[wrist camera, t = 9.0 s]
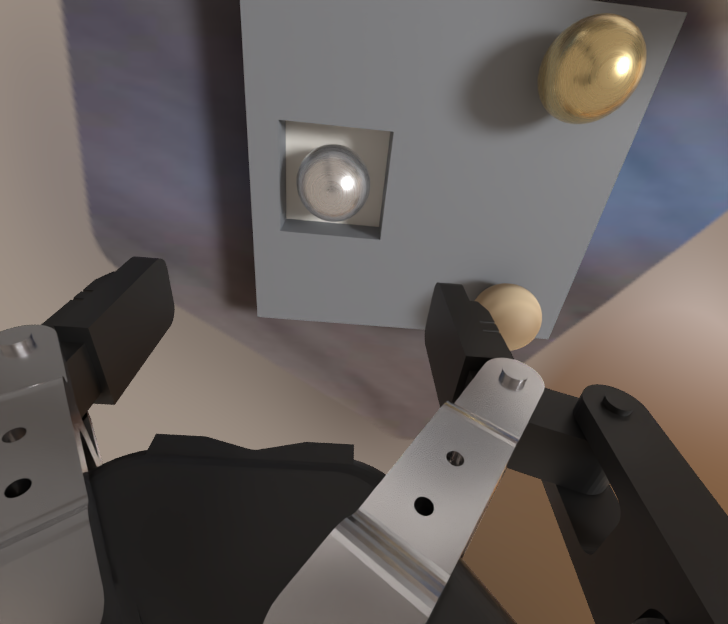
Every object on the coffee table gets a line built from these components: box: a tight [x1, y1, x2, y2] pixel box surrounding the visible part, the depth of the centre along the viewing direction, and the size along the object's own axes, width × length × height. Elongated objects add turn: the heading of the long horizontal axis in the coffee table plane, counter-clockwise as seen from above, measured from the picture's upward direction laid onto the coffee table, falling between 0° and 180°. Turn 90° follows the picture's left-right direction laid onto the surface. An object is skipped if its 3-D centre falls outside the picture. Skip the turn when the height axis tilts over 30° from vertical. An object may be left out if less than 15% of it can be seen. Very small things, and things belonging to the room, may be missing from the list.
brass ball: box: [538, 13, 647, 124], centre depth 19 cm, size 4×4×4 cm
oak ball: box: [475, 283, 542, 351], centre depth 26 cm, size 4×4×4 cm
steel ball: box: [296, 144, 370, 222], centre depth 24 cm, size 4×4×4 cm
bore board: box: [240, 0, 687, 339], centre depth 25 cm, size 20×22×3 cm
